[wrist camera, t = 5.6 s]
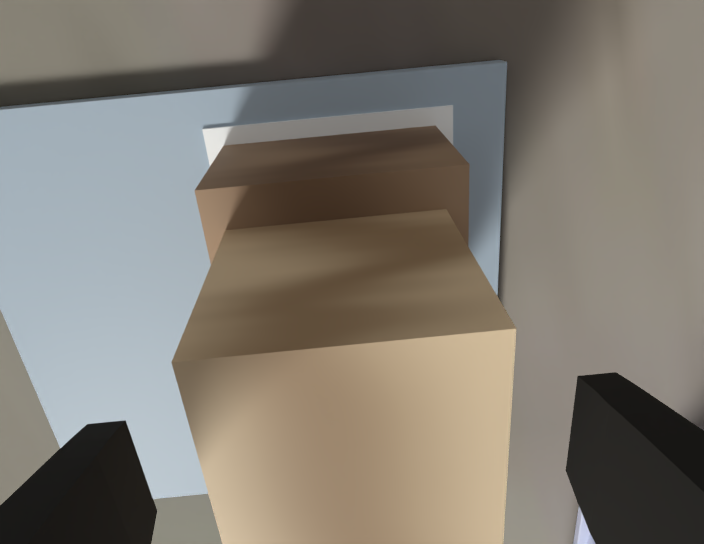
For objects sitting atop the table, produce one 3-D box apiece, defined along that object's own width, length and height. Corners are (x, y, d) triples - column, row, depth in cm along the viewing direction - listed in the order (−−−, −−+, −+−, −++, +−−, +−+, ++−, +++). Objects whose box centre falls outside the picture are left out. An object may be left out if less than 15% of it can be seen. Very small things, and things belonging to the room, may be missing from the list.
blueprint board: (500, 59, 16) (508, 62, 15) (486, 453, 22) (491, 467, 22) (-68, 113, 15) (-85, 118, 15) (90, 493, 22) (84, 508, 22)
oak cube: (446, 209, 12) (515, 328, 8) (447, 385, 15) (502, 555, 10) (225, 230, 12) (171, 362, 8) (260, 403, 15) (233, 583, 10)
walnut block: (435, 125, 16) (469, 163, 12) (438, 307, 18) (466, 384, 15) (223, 145, 16) (194, 190, 12) (257, 325, 18) (242, 406, 15)
